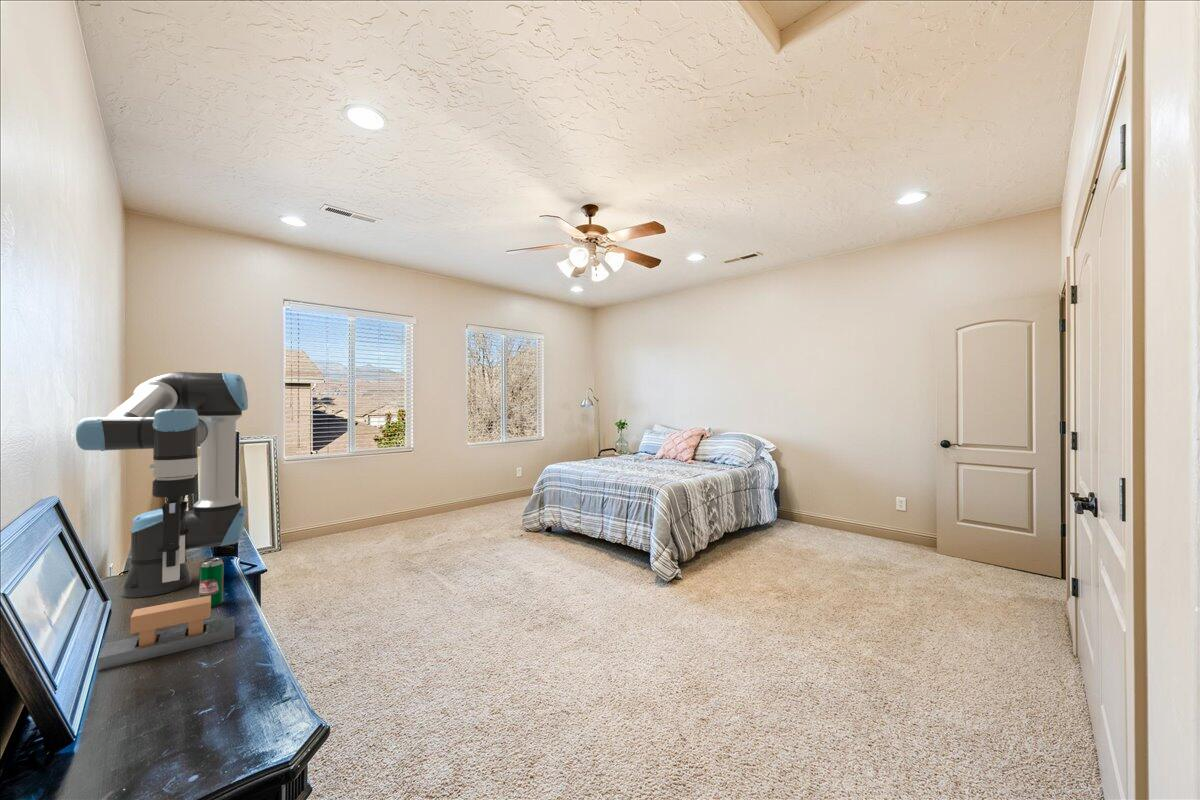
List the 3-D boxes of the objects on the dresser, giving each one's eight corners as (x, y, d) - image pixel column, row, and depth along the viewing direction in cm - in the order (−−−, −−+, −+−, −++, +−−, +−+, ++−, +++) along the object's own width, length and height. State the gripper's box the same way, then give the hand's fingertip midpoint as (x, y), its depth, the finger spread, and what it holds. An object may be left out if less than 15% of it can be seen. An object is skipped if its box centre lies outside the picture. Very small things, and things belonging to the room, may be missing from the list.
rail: (105, 654, 102) (106, 643, 102) (234, 626, 115) (234, 615, 116) (97, 670, 96) (97, 658, 96) (234, 638, 109) (234, 627, 109)
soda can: (195, 610, 125) (195, 564, 125) (204, 602, 130) (204, 558, 130) (218, 607, 127) (218, 562, 127) (226, 600, 131) (226, 557, 132)
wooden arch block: (133, 651, 104) (134, 609, 104) (210, 633, 112) (211, 595, 112) (129, 660, 100) (130, 617, 100) (209, 641, 108) (210, 601, 108)
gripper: (159, 472, 114) (158, 560, 114) (144, 486, 94) (142, 593, 94) (200, 469, 119) (199, 554, 118) (193, 483, 99) (192, 584, 99)
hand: (174, 572), depth 106 cm, fingers open, 13 cm apart
